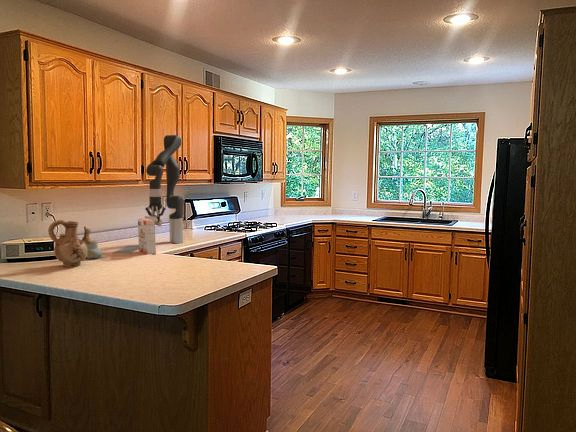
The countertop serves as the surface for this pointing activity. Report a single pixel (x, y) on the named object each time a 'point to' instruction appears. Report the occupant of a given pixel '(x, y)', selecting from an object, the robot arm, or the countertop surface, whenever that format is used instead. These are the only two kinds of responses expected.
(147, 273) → the countertop surface
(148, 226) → the cracker box
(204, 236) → the countertop surface
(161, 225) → the turner
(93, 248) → the air freshener
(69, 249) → the ceramic vessel
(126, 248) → the mat
